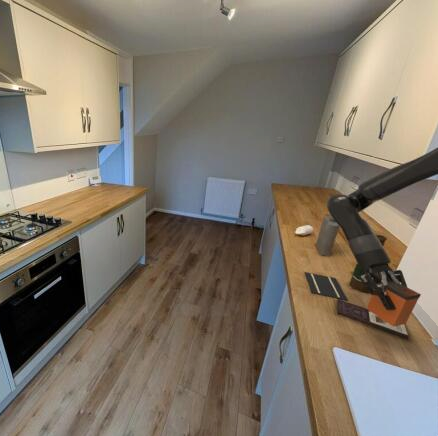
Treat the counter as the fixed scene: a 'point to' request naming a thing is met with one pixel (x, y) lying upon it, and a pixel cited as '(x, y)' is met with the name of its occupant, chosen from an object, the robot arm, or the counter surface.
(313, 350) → the counter surface
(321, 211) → the counter surface
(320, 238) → the flask
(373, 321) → the chocolate bar
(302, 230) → the roll
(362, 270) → the beer bottle
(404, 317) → the box
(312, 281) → the mat
